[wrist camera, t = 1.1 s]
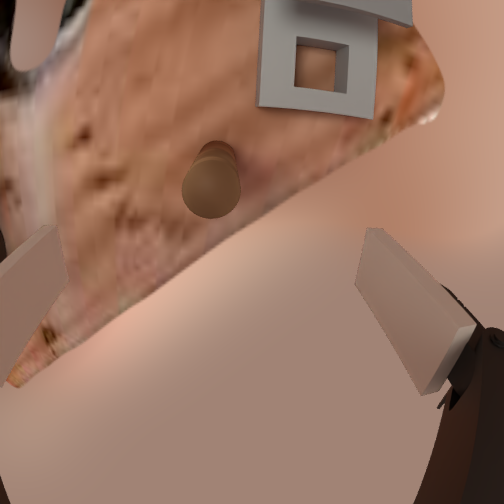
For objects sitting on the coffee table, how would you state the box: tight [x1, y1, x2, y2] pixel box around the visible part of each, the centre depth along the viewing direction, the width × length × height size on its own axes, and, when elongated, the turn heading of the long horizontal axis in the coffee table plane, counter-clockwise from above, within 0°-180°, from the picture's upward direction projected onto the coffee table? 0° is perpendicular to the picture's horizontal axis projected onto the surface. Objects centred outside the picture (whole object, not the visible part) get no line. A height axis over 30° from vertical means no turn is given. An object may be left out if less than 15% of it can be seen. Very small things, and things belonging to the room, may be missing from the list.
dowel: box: [182, 141, 241, 219], centre depth 27 cm, size 4×4×14 cm
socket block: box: [255, 0, 413, 119], centre depth 23 cm, size 12×16×11 cm
